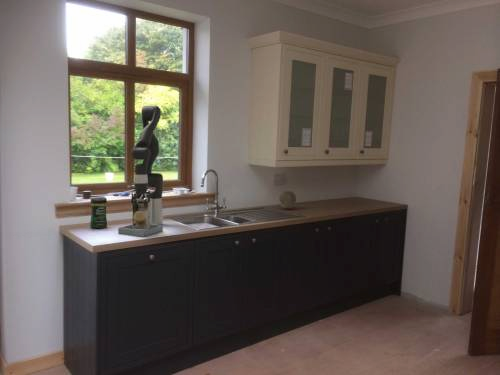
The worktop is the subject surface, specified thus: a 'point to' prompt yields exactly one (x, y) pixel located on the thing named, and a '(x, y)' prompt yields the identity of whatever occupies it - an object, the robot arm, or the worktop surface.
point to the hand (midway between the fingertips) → (141, 209)
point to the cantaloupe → (287, 199)
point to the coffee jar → (98, 212)
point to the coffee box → (141, 215)
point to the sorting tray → (140, 230)
